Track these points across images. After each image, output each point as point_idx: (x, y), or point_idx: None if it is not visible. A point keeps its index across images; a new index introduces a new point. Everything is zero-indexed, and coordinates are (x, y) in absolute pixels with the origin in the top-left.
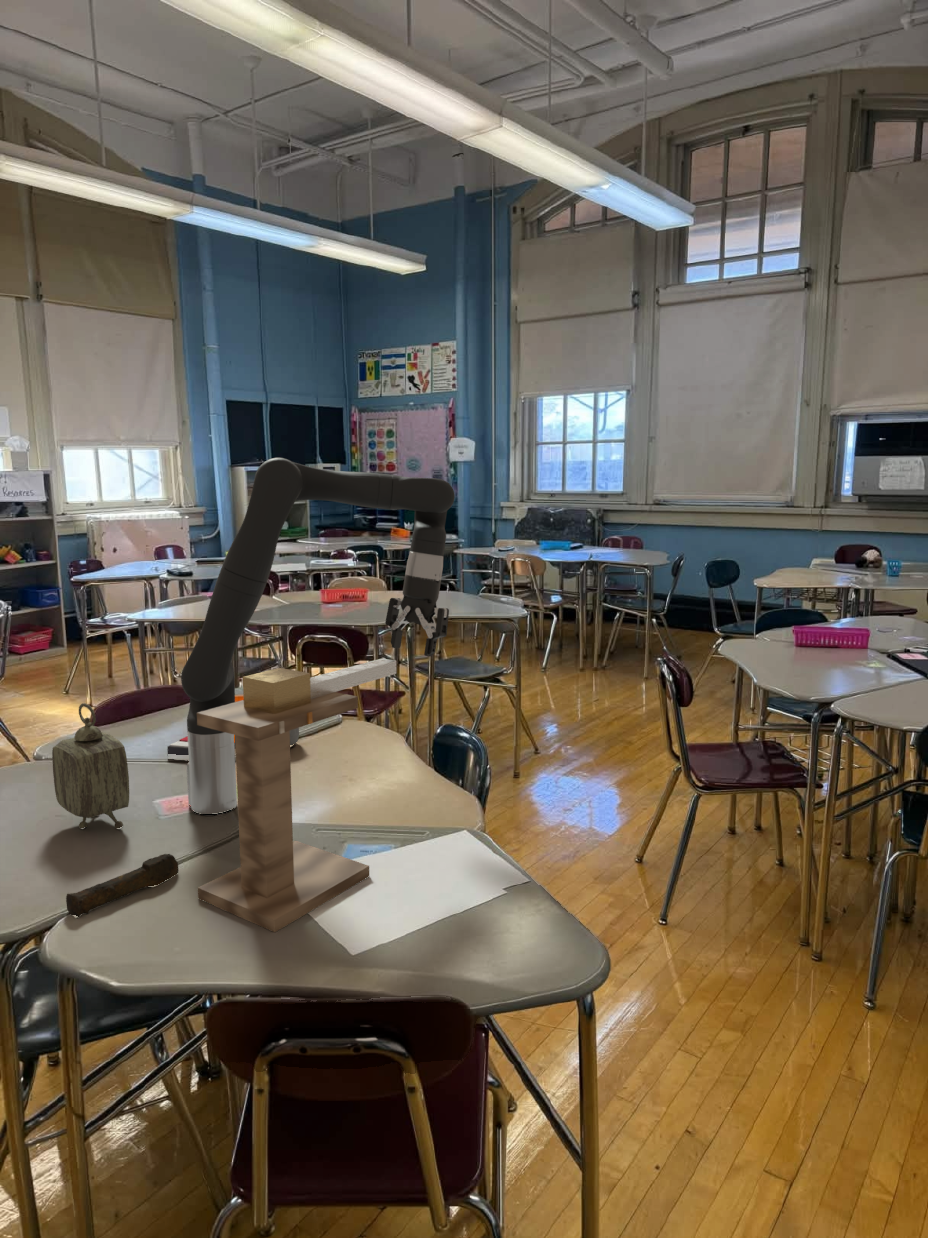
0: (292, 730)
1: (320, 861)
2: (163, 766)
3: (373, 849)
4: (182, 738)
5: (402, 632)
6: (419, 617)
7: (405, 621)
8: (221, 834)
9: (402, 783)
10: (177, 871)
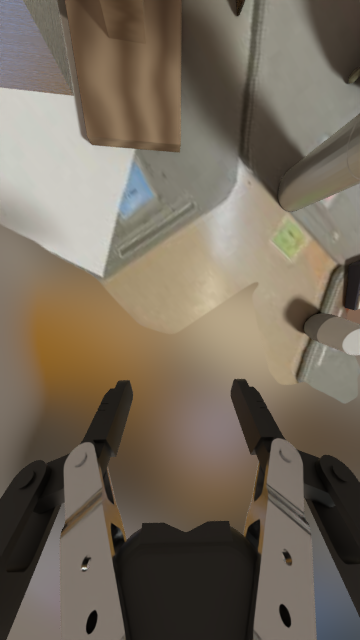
0: (315, 329)
1: (128, 113)
2: None
3: (130, 199)
4: None
5: (248, 447)
6: (112, 633)
7: (254, 519)
8: (256, 140)
9: (195, 319)
10: (238, 10)
